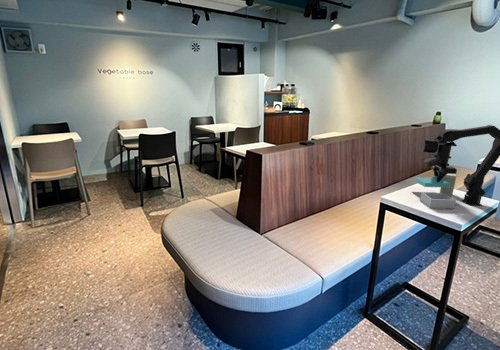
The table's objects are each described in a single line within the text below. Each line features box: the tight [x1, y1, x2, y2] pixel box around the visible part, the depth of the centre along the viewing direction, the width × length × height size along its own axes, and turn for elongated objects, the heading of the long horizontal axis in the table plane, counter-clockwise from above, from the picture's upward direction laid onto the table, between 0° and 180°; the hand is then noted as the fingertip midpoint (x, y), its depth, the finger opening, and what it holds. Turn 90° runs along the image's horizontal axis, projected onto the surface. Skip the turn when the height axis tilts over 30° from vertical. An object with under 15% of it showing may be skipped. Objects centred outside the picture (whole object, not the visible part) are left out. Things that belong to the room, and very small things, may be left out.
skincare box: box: [439, 173, 458, 197], centre depth 165 cm, size 6×4×12 cm
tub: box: [419, 191, 457, 210], centre depth 151 cm, size 12×10×5 cm
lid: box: [414, 175, 450, 188], centre depth 160 cm, size 13×11×6 cm
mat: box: [411, 191, 436, 199], centre depth 163 cm, size 14×11×1 cm
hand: (437, 181), depth 156 cm, fingers closed on lid
